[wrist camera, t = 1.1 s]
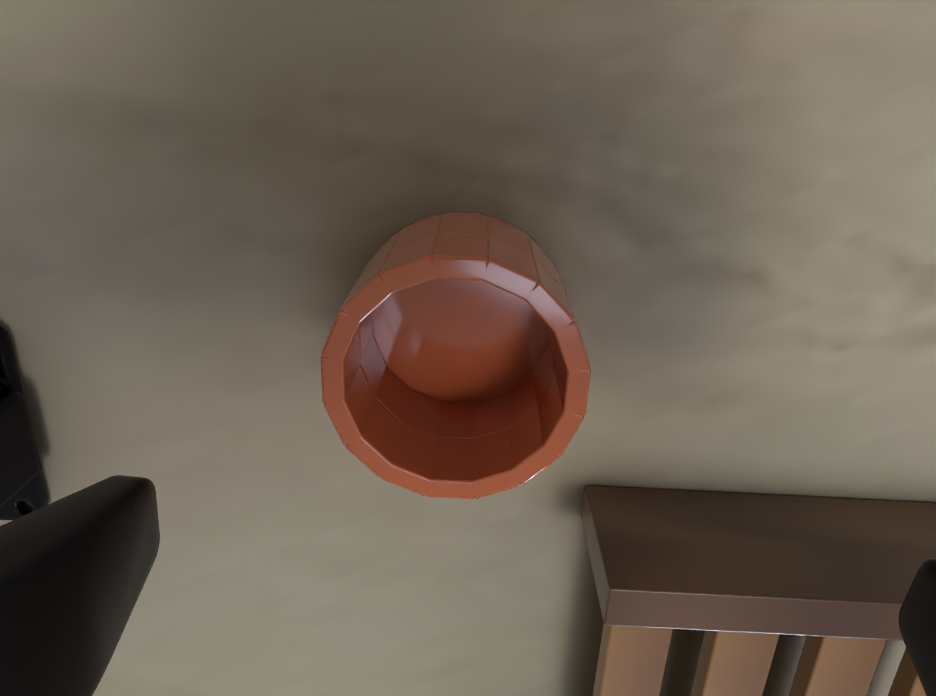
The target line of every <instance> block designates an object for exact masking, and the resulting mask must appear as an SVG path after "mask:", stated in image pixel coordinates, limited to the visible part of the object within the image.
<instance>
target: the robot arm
mask: <svg viewBox="0 0 936 696" xmlns="http://www.w3.org/2000/svg"><path fill="white" fill-rule="evenodd" d="M25 501H26V502H28V503H29V504H30V505H31V506H29V505H28V504H26V503H25ZM0 520H13V521H11V522H9V523H7V524H4V525H2V526H0V696H92V695H93V693H94V691H95V689H96V688H97V686H98V684H99V682H100V680H101V678H102V676H103V674H104V672H105V670H106V668H107V666H108V664H109V662H110V659H111V657H112V655H113V653H114V651H115V648H116V646H117V644H118V642H119V639H120V637H121V635H122V633H123V630H124V628H125V626H126V624H127V621H128V619H129V617H130V615H131V612H132V610H133V608H134V606H135V603H136V601H137V599H138V597H139V594H140V592H141V590H142V588H143V585H144V583H145V581H146V579H147V576H148V574H149V572H150V570H151V567H152V565H153V563H154V561H155V558H156V556H157V552H158V549H159V542H160V532H159V521H158V511H157V500H156V491H155V487H154V484H153V482H152V481H150V480H149V479H148V478H141V477H132V476H122V475H116V476H112V477H109V478H107V479H105V480H102V481H100V482H98V483H96V484H94V485H91V486H89V487H87V488H85V489H82V490H80V491H78V492H76V493H73V494H71V495H69V496H67V497H65V498H62V499H60V500H58V501H56V502H53V503H51V504H49V505H48V500H47V495H46V491H45V487H44V482H43V478H42V474H41V466H40V462H39V457H38V453H37V449H36V445H35V440H34V436H33V432H32V427H31V423H30V419H29V414H28V410H27V406H26V402H25V399H24V397H23V392H22V388H21V384H20V379H19V375H18V371H17V367H16V362H15V358H14V354H13V349H12V345H11V341H10V337H9V335H8V333H7V331H6V330H5V329H4V328H3V327H2V326H0ZM899 628H900V632H901V636H902V638H903V640H904V643H905V645H906V648H907V650H908V653H909V655H910V657H911V660H912V662H913V665H914V667H915V670H916V672H917V674H918V677H919V679H920V682H921V684H922V687H923V689H924V691H925V694H926V696H936V558H931V559H927V560H925V561H924V562H923V563H922V564H921V565H920V567H919V568H918V570H917V573H916V575H915V577H914V579H913V582H912V584H911V586H910V588H909V590H908V593H907V595H906V597H905V599H904V602H903V604H902V606H901V609H900V612H899Z"/></svg>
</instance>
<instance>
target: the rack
mask: <svg viewBox="0 0 936 696" xmlns="http://www.w3.org/2000/svg"><path fill="white" fill-rule="evenodd" d="M581 518H582V523H583V527H584V532H585V537H586V542H587V546H588V551H589V556H590V560H591V565H592V570H593V575H594V579H595V584H596V589H597V594H598V598H599V603H600V608H601V613H602V617H603V622H604V626H603V632H602V638H601V645H600V651H599V658H598V664H597V671H596V677H595V683H594V690H593V696H659V695H660V690H661V685H662V681H663V676H664V671H665V666H666V661H667V656H668V652H669V647H670V642H671V637H672V632H673V629H688V630H705V634H704V638H703V643H702V647H701V651H700V656H699V660H698V664H697V669H696V673H695V677H694V682H693V686H692V690H691V695H690V696H762V695H763V692H764V688H765V685H766V681H767V678H768V674H769V671H770V667H771V664H772V660H773V657H774V653H775V650H776V646H777V643H778V639H779V636H780V634H786V635H805V636H807V637H806V640H805V643H804V647H803V650H802V653H801V656H800V660H799V663H798V666H797V669H796V673H795V676H794V679H793V682H792V686H791V689H790V692H789V695H788V696H867V693H868V690H869V687H870V685H871V682H872V679H873V677H874V674H875V671H876V668H877V666H878V663H879V660H880V658H881V655H882V652H883V649H884V647H885V644H886V641H887V640H903V638H902V636H901V632H900V628H899V612H900V609H901V606H902V604H903V602H904V599H905V597H906V595H907V593H908V590H909V588H910V586H911V584H912V582H913V579H914V577H915V575H916V573H917V570H918V568H919V567H920V565H921V564H922V563H923V562H924V561H925V560H927V559H931V558H936V503H925V502H905V501H885V500H865V499H845V498H825V497H805V496H784V495H764V494H744V493H724V492H704V491H684V490H664V489H644V488H624V487H604V486H585V491H584V499H583V507H582V515H581ZM903 641H904V640H903ZM888 696H926V694H925V691H924V689H923V687H922V684H921V682H920V679H919V677H918V674H917V672H916V670H915V667H914V665H913V662H912V660H911V657H910V655H909V653H908V650H907V648H906V649H905V652H904V654H903V657H902V660H901V662H900V665H899V667H898V670H897V673H896V675H895V678H894V680H893V683H892V686H891V688H890V691H889V693H888Z"/></svg>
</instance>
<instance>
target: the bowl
mask: <svg viewBox="0 0 936 696" xmlns="http://www.w3.org/2000/svg"><path fill="white" fill-rule="evenodd" d="M590 374H591V370H590V363H589V360H588V357H587V354H586V350H585V347H584V344H583V341H582V338H581V335H580V332H579V329H578V326H577V323H576V320H575V317H574V314H573V311H572V309H571V306H570V303H569V300H568V297H567V294H566V291H565V289H564V286H563V283H562V280H561V277H560V274H559V272H558V270H557V268H556V266H555V265H554V264H553V263H552V261H551V259H550V258H549V257H548V255H547V254H546V253H545V251H544V250H543V249H542V248H541V247H540V246H539V245H538V244H537V243H536V242H535V241H534V240H533V239H532V238H531V237H530V236H528V235H527V234H526V233H524V232H523V231H522V230H520V229H518V228H516V227H515V226H513V225H511V224H509V223H507V222H505V221H502V220H500V219H497V218H495V217H491V216H487V215H483V214H477V213H468V212H454V213H445V214H438V215H434V216H431V217H427V218H424V219H421V220H419V221H417V222H415V223H412V224H410V225H408V226H407V227H405V228H403V229H402V230H400V231H399V232H397V233H396V234H395V235H394V236H392V237H391V238H390V239H389V240H387V242H386V243H385V244H384V245H383V246H382V247H381V248H380V249H379V250H378V251H377V253H376V254H375V255H374V256H373V257H372V258H371V259H370V260H369V262H368V263H367V265H366V267H365V268H364V270H363V272H362V273H361V275H360V277H359V278H358V280H357V282H356V283H355V285H354V287H353V288H352V290H351V292H350V293H349V295H348V297H347V298H346V300H345V302H344V303H343V305H342V307H341V308H340V310H339V312H338V314H337V316H336V319H335V321H334V324H333V326H332V329H331V331H330V333H329V336H328V338H327V341H326V343H325V345H324V348H323V350H322V356H321V375H322V398H323V403H324V406H325V408H326V410H327V412H328V414H329V416H330V418H331V420H332V422H333V424H334V426H335V428H336V430H337V432H338V434H339V436H340V438H341V441H342V443H343V444H344V445H345V447H346V448H347V449H348V450H349V451H350V452H351V453H352V454H354V455H355V456H356V457H357V458H358V459H359V460H360V461H361V462H363V463H364V464H365V465H366V466H367V467H368V468H369V469H370V470H371V471H373V472H374V473H375V474H376V475H377V476H378V477H381V478H382V479H383V480H386V481H388V482H391V483H393V484H396V485H398V486H401V487H403V488H405V489H408V490H410V491H413V492H415V493H418V494H420V495H423V496H425V495H427V496H428V497H443V498H463V499H474V498H480V497H484V496H487V495H491V494H494V493H498V492H501V491H504V490H508V489H511V488H515V487H518V486H520V485H521V484H524V483H526V482H527V481H528V480H530V479H531V478H533V477H534V476H535V475H537V474H538V473H539V472H541V471H542V470H543V469H545V468H546V467H547V466H549V465H550V464H551V463H553V462H554V461H555V460H557V459H558V458H559V456H561V455H562V453H563V452H564V450H565V448H566V447H567V445H568V443H569V442H570V440H571V439H572V437H573V435H574V434H575V432H576V430H577V429H578V427H579V425H580V424H581V422H582V420H583V419H584V415H585V413H586V406H587V398H588V390H589V382H590Z"/></svg>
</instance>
